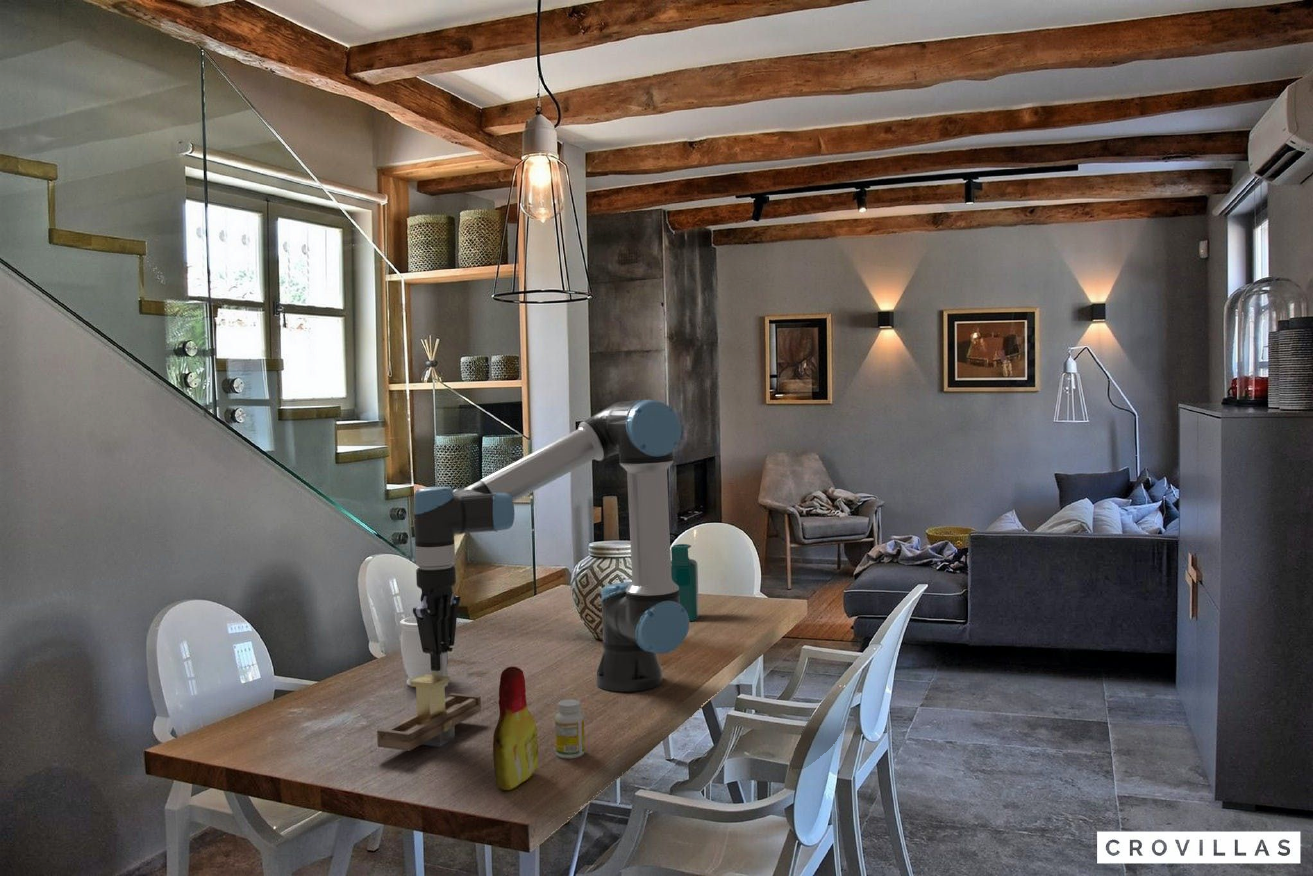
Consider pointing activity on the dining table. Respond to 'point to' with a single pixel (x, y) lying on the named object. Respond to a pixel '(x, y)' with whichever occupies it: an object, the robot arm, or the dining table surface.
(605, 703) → the dining table surface
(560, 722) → the supplement bottle
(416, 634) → the jar
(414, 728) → the brown long rectangular frame
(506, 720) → the bottle
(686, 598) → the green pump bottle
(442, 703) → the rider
